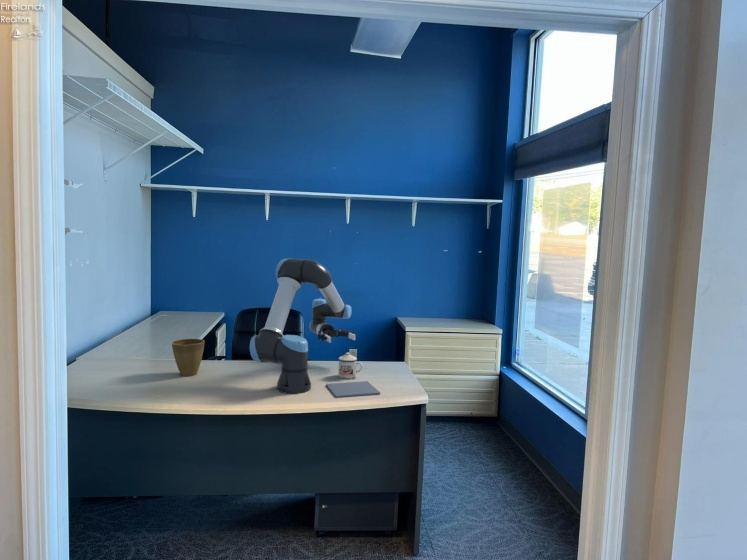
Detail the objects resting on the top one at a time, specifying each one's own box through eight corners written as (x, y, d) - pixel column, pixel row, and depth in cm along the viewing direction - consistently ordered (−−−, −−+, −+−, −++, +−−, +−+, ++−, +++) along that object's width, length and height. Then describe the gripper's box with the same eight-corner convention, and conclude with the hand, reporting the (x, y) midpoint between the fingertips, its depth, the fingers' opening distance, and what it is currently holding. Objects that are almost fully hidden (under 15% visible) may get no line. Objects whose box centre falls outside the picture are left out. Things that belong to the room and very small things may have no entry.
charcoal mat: (336, 397, 225) (336, 395, 225) (326, 385, 242) (326, 383, 242) (380, 394, 231) (380, 392, 231) (367, 382, 248) (367, 381, 248)
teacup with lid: (336, 378, 254) (336, 354, 253) (339, 373, 263) (340, 350, 262) (360, 379, 253) (361, 356, 252) (363, 374, 262) (364, 351, 261)
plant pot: (205, 369, 263) (205, 337, 261) (203, 377, 248) (203, 344, 247) (173, 370, 259) (173, 338, 258) (169, 379, 245) (169, 345, 243)
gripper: (346, 335, 290) (364, 343, 272) (303, 339, 278) (319, 348, 260) (346, 322, 289) (364, 329, 271) (304, 325, 277) (319, 333, 259)
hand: (342, 338), depth 265 cm, fingers open, 13 cm apart
